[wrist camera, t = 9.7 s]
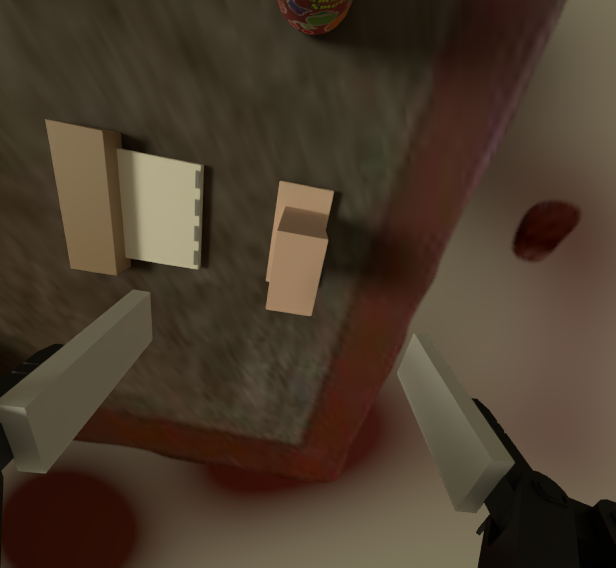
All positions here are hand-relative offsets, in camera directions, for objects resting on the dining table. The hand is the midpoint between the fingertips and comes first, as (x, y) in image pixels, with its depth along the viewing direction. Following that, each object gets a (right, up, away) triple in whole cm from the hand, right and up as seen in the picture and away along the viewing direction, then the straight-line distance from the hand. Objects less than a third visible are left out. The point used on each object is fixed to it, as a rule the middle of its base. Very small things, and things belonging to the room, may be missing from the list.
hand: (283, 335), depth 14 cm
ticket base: (-18, +11, +18) cm, 28 cm away
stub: (0, +8, +20) cm, 21 cm away
